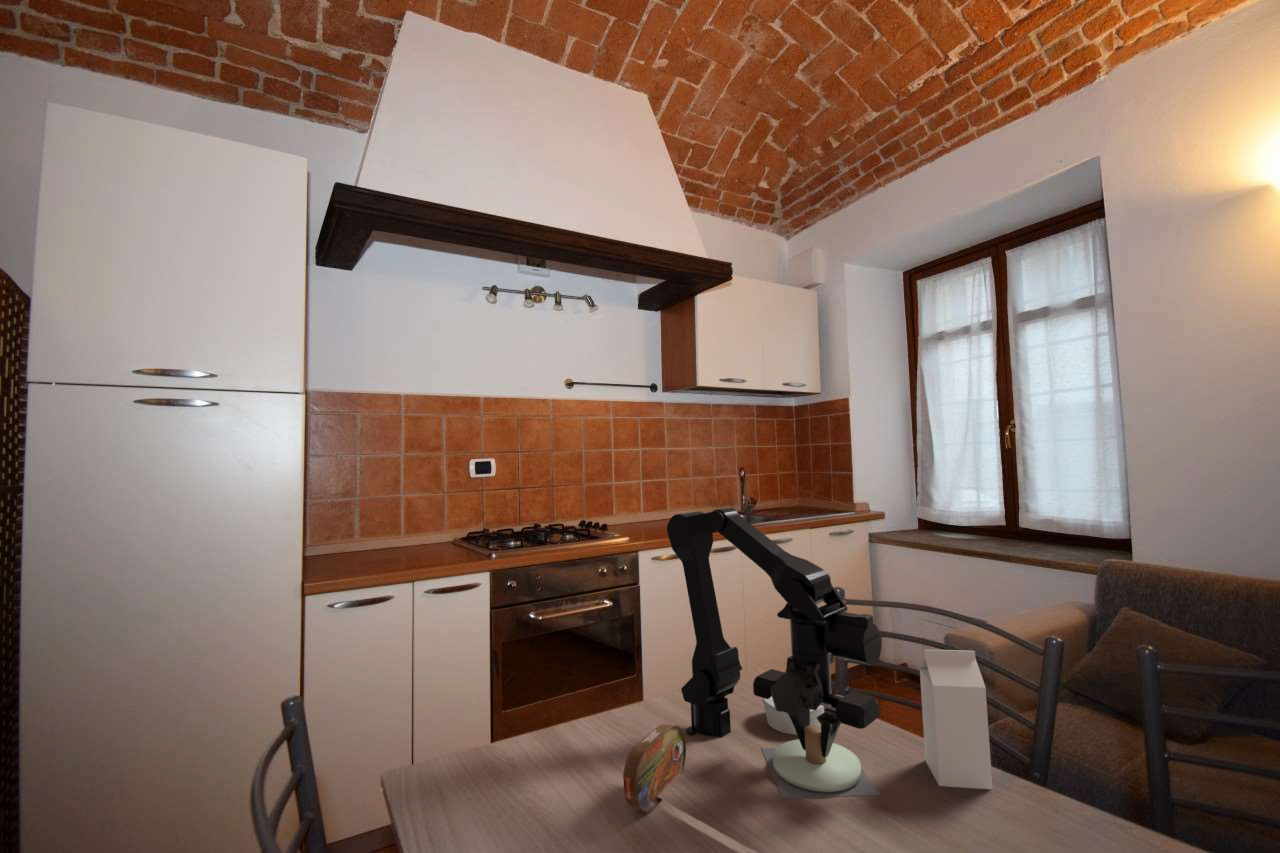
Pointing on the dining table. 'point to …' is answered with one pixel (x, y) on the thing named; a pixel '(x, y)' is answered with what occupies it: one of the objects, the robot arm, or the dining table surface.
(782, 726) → the ramekin
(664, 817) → the dining table surface
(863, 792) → the mat
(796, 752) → the lid
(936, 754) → the milk carton
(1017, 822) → the dining table surface
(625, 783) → the tin
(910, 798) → the dining table surface
